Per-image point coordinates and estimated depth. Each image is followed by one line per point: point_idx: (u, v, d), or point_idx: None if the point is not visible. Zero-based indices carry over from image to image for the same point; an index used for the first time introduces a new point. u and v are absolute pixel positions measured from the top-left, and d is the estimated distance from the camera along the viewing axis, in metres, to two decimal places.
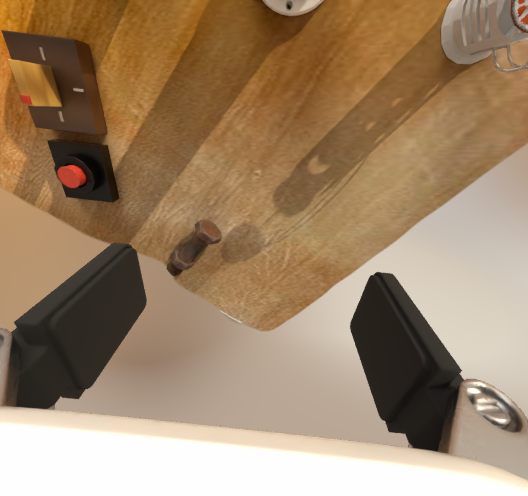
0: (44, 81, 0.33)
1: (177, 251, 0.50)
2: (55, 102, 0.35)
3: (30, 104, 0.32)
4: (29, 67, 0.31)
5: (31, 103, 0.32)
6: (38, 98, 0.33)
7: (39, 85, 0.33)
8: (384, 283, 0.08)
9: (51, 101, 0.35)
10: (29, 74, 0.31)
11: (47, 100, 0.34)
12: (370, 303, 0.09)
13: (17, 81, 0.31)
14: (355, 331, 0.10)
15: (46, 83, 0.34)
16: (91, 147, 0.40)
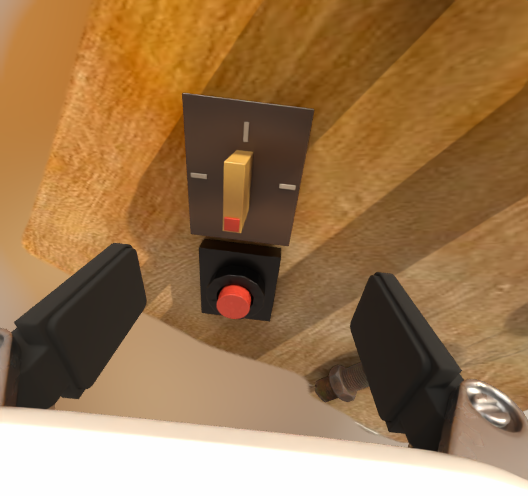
0: (248, 181, 0.18)
1: (339, 375, 0.35)
2: (247, 208, 0.20)
3: None
4: (247, 168, 0.16)
5: (238, 229, 0.17)
6: (243, 216, 0.18)
7: (246, 193, 0.18)
8: (385, 283, 0.08)
9: (246, 209, 0.20)
10: (245, 181, 0.16)
11: (246, 211, 0.19)
12: (370, 303, 0.09)
13: (227, 197, 0.16)
14: (355, 331, 0.10)
15: (249, 183, 0.19)
16: (266, 258, 0.25)
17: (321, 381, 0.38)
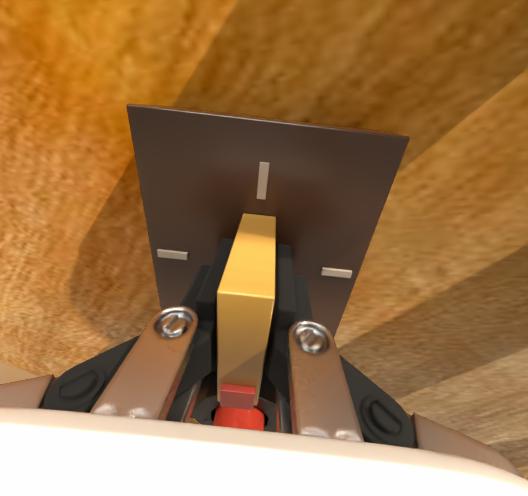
0: None
1: None
2: None
3: None
4: None
5: None
6: None
7: None
8: (280, 252, 0.09)
9: None
10: None
11: None
12: None
13: (226, 354, 0.07)
14: None
15: None
16: None
17: None
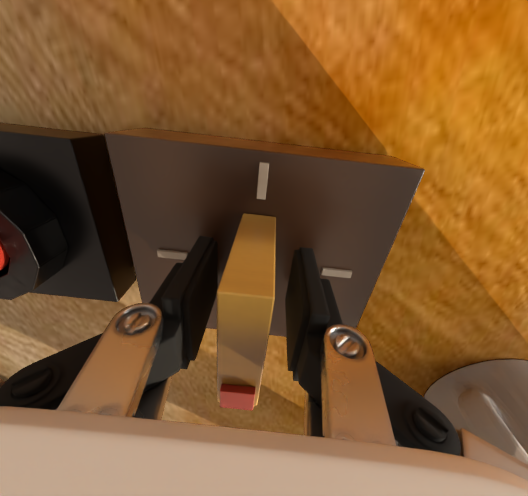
0: None
1: None
2: None
3: None
4: None
5: None
6: None
7: None
8: (303, 256, 0.09)
9: None
10: None
11: None
12: (292, 274, 0.10)
13: (226, 355, 0.07)
14: (286, 302, 0.11)
15: None
16: (106, 281, 0.13)
17: None
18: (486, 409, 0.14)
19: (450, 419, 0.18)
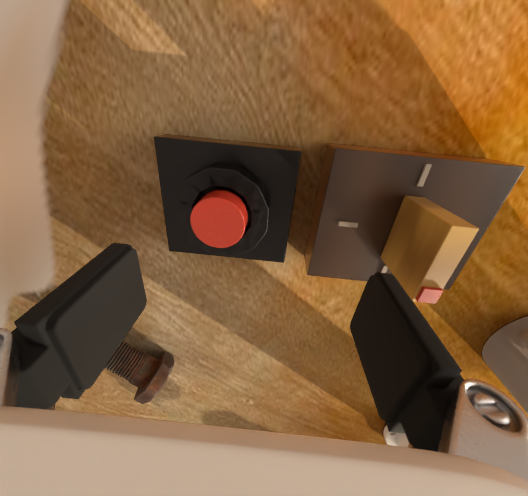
0: None
1: None
2: None
3: None
4: None
5: None
6: None
7: None
8: (384, 283, 0.08)
9: None
10: None
11: None
12: (370, 303, 0.09)
13: (436, 265, 0.13)
14: (355, 331, 0.10)
15: None
16: (282, 247, 0.19)
17: None
18: None
19: (510, 357, 0.24)
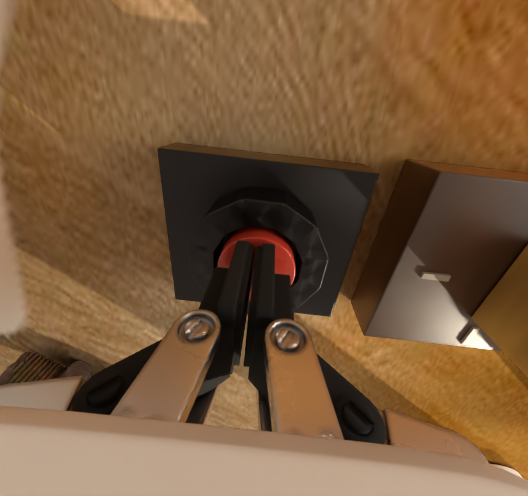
0: None
1: None
2: None
3: None
4: None
5: None
6: None
7: None
8: (264, 252, 0.09)
9: None
10: None
11: None
12: None
13: None
14: None
15: None
16: (332, 298, 0.14)
17: (40, 362, 0.20)
18: None
19: None
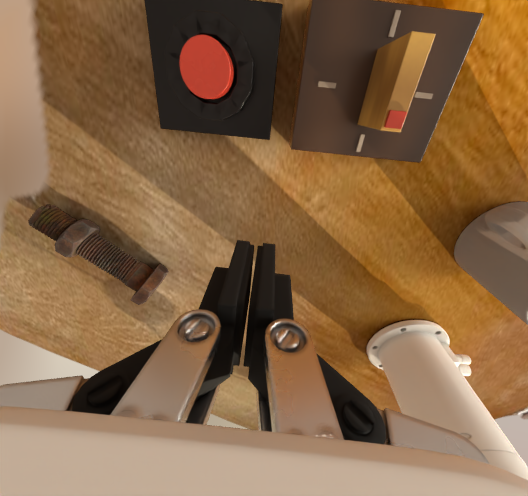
0: None
1: (92, 232, 0.27)
2: None
3: (396, 129, 0.16)
4: None
5: None
6: None
7: None
8: (264, 252, 0.09)
9: None
10: None
11: None
12: None
13: (400, 81, 0.14)
14: None
15: None
16: (268, 120, 0.21)
17: (61, 212, 0.27)
18: (506, 207, 0.22)
19: (477, 244, 0.26)
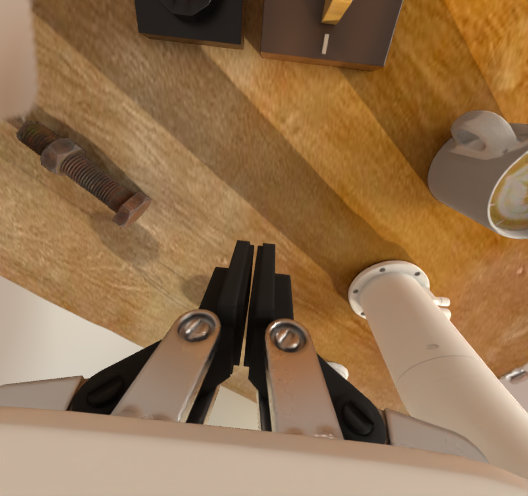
0: None
1: (77, 150, 0.29)
2: None
3: None
4: None
5: None
6: None
7: None
8: (264, 252, 0.09)
9: None
10: None
11: None
12: None
13: None
14: None
15: None
16: (238, 23, 0.22)
17: (48, 129, 0.28)
18: None
19: (446, 162, 0.27)
